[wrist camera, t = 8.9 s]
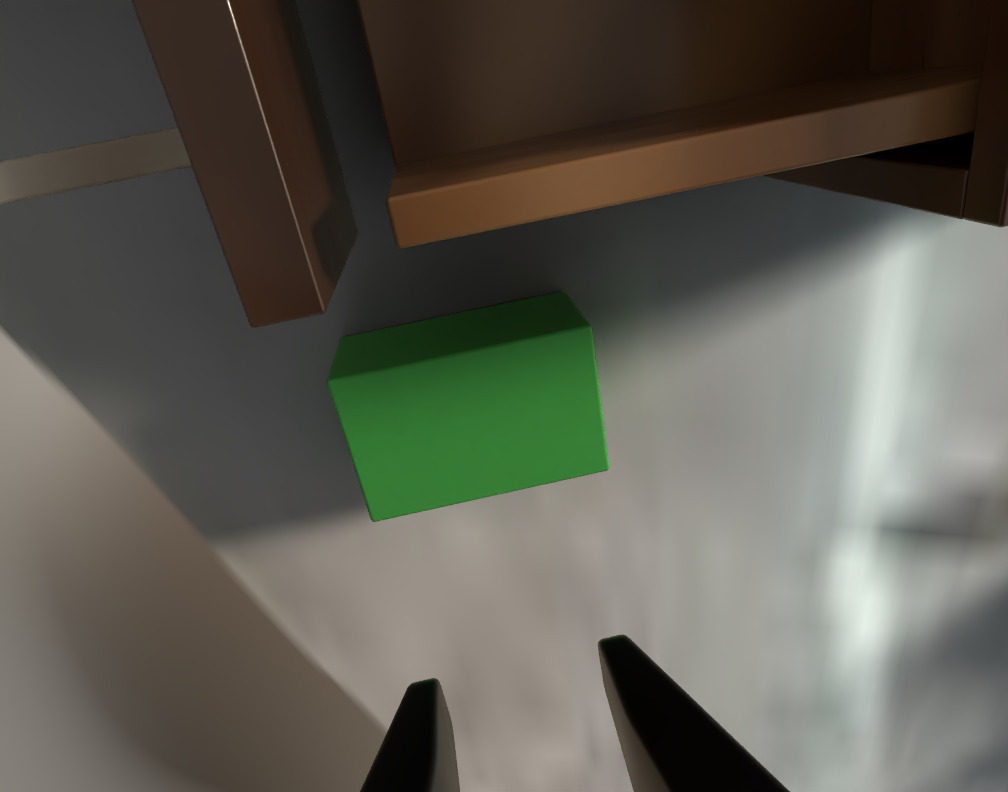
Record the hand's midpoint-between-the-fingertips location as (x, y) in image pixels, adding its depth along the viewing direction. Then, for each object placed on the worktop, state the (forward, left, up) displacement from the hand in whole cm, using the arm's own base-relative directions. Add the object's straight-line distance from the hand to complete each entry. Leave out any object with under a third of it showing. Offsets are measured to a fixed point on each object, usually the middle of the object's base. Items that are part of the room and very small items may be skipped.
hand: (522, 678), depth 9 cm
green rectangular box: (0, 0, -11) cm, 11 cm away
